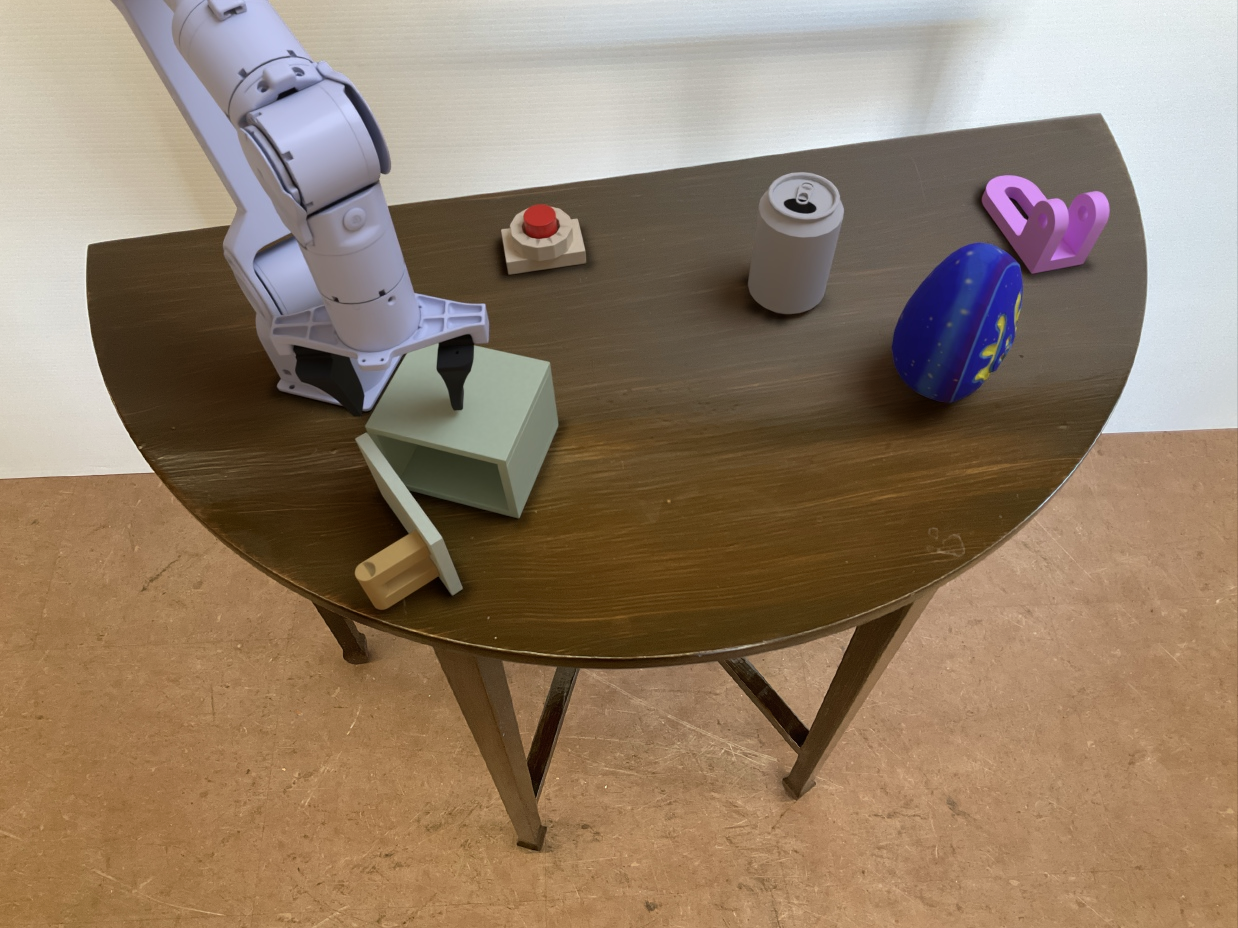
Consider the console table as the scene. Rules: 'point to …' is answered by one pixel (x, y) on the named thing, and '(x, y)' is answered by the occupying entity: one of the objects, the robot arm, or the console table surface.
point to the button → (540, 221)
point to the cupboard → (468, 428)
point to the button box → (543, 245)
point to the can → (795, 242)
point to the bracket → (1045, 222)
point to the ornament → (959, 323)
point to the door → (402, 542)
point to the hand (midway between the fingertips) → (408, 403)
